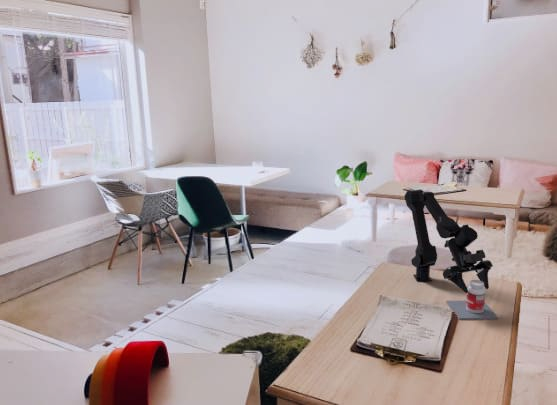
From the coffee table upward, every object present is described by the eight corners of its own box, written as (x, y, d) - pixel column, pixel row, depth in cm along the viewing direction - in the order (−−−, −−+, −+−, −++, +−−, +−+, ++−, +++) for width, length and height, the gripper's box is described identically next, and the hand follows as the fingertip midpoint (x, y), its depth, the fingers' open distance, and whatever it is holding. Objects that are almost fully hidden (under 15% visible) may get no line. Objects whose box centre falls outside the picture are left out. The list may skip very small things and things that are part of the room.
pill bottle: (463, 306, 179) (465, 279, 176) (479, 305, 179) (481, 278, 176) (470, 314, 173) (472, 286, 170) (486, 313, 173) (489, 285, 170)
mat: (446, 302, 184) (446, 300, 184) (482, 301, 184) (483, 300, 183) (458, 319, 170) (459, 318, 170) (498, 319, 170) (498, 317, 170)
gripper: (449, 246, 171) (468, 286, 164) (491, 239, 177) (511, 278, 170) (434, 259, 181) (451, 298, 173) (475, 252, 186) (493, 289, 179)
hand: (477, 290), depth 173 cm, fingers open, 9 cm apart
